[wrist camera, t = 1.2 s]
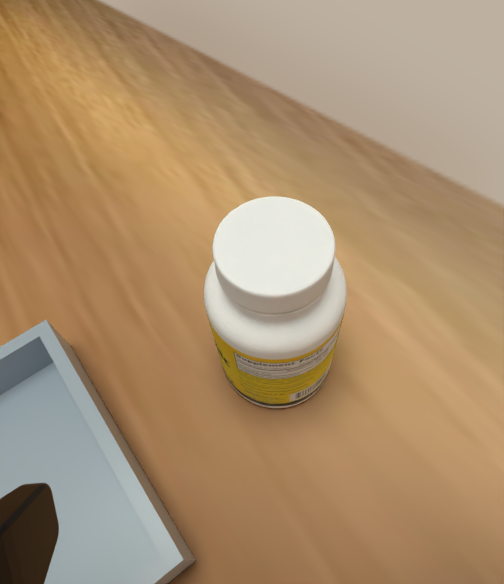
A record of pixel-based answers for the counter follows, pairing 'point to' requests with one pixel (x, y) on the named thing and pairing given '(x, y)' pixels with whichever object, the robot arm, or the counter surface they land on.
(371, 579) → the counter surface
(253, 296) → the supplement bottle
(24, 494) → the robot arm
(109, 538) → the tray
